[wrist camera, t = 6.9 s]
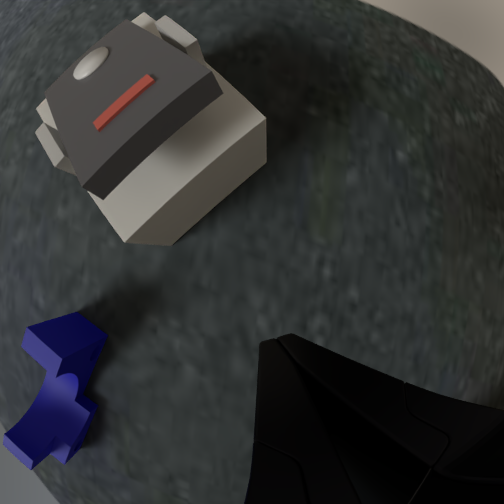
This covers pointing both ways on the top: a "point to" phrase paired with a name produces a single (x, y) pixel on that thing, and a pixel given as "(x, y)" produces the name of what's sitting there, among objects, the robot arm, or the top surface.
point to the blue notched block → (58, 390)
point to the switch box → (178, 158)
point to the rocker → (125, 103)
